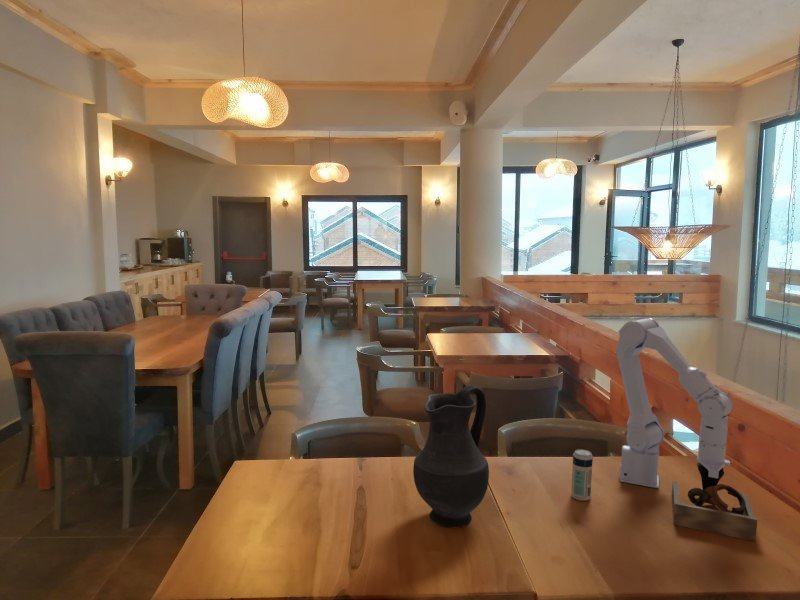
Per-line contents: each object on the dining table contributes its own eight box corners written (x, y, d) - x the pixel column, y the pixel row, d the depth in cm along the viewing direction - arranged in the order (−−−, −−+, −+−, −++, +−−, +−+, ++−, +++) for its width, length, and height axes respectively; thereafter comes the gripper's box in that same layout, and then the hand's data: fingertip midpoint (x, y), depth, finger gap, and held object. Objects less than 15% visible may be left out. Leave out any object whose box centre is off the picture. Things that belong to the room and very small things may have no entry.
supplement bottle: (588, 493, 140) (590, 449, 139) (592, 502, 135) (595, 456, 134) (569, 492, 140) (571, 448, 139) (573, 501, 136) (575, 455, 134)
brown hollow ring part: (724, 505, 136) (743, 485, 131) (735, 539, 128) (755, 519, 123) (677, 490, 137) (693, 470, 132) (684, 523, 129) (702, 503, 124)
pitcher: (398, 517, 127) (399, 392, 124) (452, 488, 142) (455, 376, 139) (457, 546, 115) (461, 410, 112) (510, 511, 131) (514, 389, 127)
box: (673, 524, 125) (675, 503, 125) (671, 495, 139) (673, 477, 139) (755, 541, 119) (757, 519, 118) (744, 509, 133) (746, 490, 132)
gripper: (735, 455, 126) (730, 510, 127) (727, 434, 139) (723, 485, 140) (700, 449, 129) (696, 504, 130) (696, 430, 142) (692, 480, 143)
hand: (708, 494), depth 135 cm, fingers closed
